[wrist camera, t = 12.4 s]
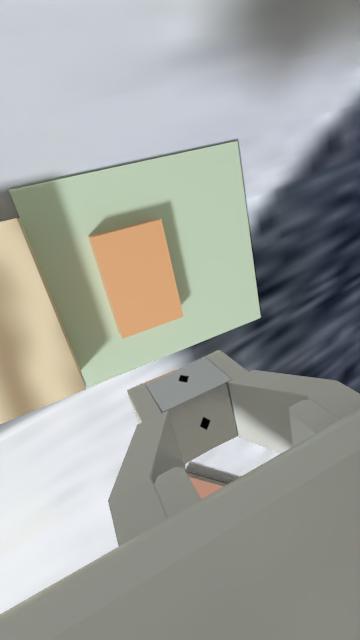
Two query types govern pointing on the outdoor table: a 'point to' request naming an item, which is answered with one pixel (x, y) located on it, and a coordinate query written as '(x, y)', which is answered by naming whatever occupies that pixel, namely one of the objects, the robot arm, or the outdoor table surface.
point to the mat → (182, 240)
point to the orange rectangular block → (137, 276)
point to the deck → (30, 332)
